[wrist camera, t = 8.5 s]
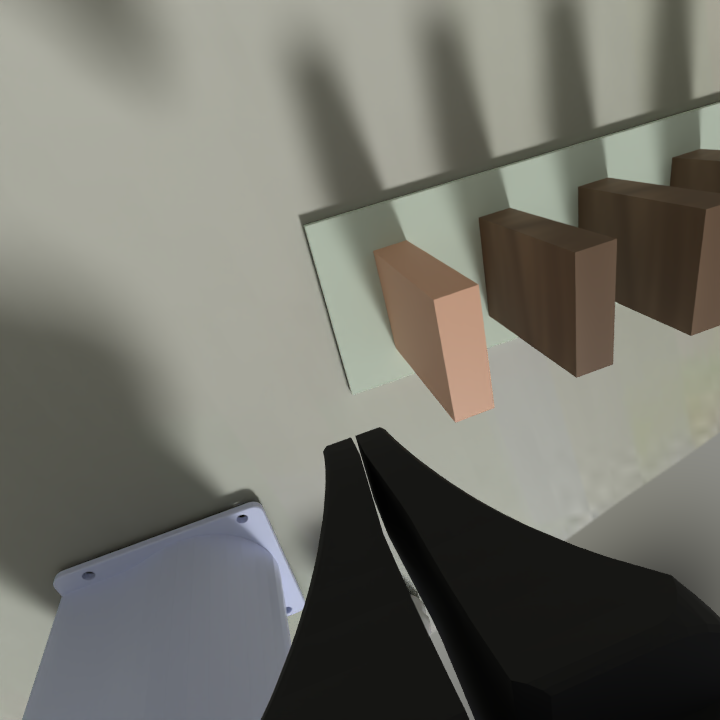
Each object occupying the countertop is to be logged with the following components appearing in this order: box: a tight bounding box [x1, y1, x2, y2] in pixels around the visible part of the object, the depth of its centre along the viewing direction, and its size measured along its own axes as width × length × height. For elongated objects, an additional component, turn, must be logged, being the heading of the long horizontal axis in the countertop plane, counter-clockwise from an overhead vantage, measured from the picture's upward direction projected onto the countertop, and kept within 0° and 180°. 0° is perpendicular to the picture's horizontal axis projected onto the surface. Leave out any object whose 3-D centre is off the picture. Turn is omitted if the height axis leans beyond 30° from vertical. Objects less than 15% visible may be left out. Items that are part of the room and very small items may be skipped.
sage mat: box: [304, 102, 720, 395], centre depth 21 cm, size 24×8×1 cm, turn 103°
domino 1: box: [479, 208, 617, 378], centre depth 18 cm, size 1×4×6 cm, turn 13°
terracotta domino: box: [373, 240, 494, 423], centre depth 17 cm, size 1×4×6 cm, turn 14°
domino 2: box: [578, 178, 720, 336], centre depth 19 cm, size 1×4×6 cm, turn 13°
